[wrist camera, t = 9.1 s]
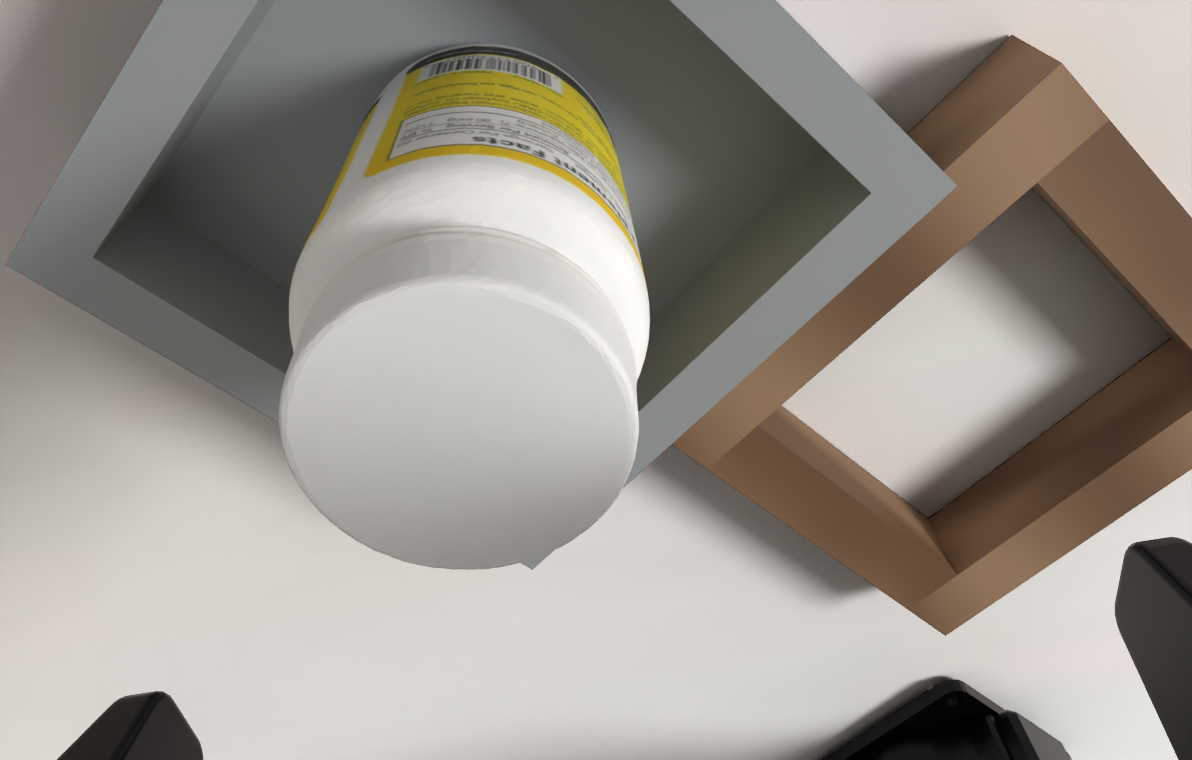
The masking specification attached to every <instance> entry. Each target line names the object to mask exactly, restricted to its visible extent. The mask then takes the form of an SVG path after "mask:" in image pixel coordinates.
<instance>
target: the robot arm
mask: <svg viewBox="0 0 1192 760" xmlns="http://www.w3.org/2000/svg"><path fill="white" fill-rule="evenodd" d="M1115 616H1116V622H1117V625H1118V628H1119V631H1120V633H1121V636H1122V638H1123V640H1124V642H1125V644H1126V647H1127V649H1128V651H1129V653H1130V655H1131V657H1132V660H1133V662H1134V664H1135V666H1136V668H1137V670H1138V673H1139V675H1140V677H1141V679H1142V681H1143V683H1144V686H1145V688H1146V690H1147V692H1148V694H1149V697H1150V699H1151V701H1152V703H1153V705H1154V707H1155V710H1156V712H1157V714H1158V716H1159V718H1160V720H1161V723H1162V725H1163V727H1164V729H1165V731H1166V733H1167V736H1168V738H1169V740H1170V742H1171V744H1172V746H1173V749H1174V751H1175V753H1176V755H1177V757H1178V759H1179V760H1192V543H1190V542H1188V541H1186V540H1183V539H1180V538H1175V537H1168V538H1161V539H1155V540H1148V541H1141V542H1136V543H1133V544H1131V545H1130V546H1129V548H1128V549H1127V550H1126V553H1125V556H1124V560H1123V565H1122V571H1121V576H1120V581H1119V586H1118V591H1117V596H1116V601H1115ZM57 760H203V753H202V748H201V745H200V742H199V740H198V738H197V736H196V735H195V733H194V732H193V730H192V729H191V727H190V725H189V724H188V722H187V721H186V719H185V718H184V716H183V715H182V713H181V711H180V710H179V708H178V707H177V705H176V704H175V702H174V700H173V699H172V698H171V697H170V695H168V694H166V693H164V692H162V691H155V692H148V693H142V694H135V695H129V696H125V697H122V698H120V699H118V700H117V701H116V702H114V703H113V704H112V705H111V706H110V707H109V708H108V709H107V710H106V711H105V712H104V713H103V714H102V715H101V716H100V717H99V718H98V719H97V720H96V721H95V722H94V723H93V724H92V725H91V726H90V727H89V728H88V729H87V730H86V731H85V732H84V733H83V734H82V735H81V736H80V737H79V738H78V739H77V740H76V741H75V742H74V743H73V744H72V745H71V746H70V747H69V748H68V749H67V750H66V751H65V752H64V753H63V754H62V755H61V756H60V757H59V758H58V759H57ZM823 760H1072V759H1071V757H1070V755H1069V754H1068V753H1067V752H1066V750H1065V749H1064V747H1063V745H1062V743H1061V742H1060V741H1058V740H1057V739H1055V738H1054V737H1052V736H1051V735H1049V734H1048V733H1046V732H1045V731H1043V730H1042V729H1041V728H1039V727H1038V726H1036V725H1035V724H1033V723H1032V722H1030V721H1029V720H1027V719H1026V718H1024V717H1023V716H1021V715H1020V714H1018V713H1016V712H1013V711H1009V710H1004V709H1003V708H1001V707H1000V706H998V705H997V704H995V703H994V702H992V701H991V700H989V699H988V698H986V697H985V696H983V695H982V694H980V693H979V692H977V691H976V690H974V689H973V688H971V687H970V686H968V685H967V684H966V683H964V682H962V681H960V680H947V681H944V682H942V683H940V684H938V685H936V686H935V687H933V688H932V689H930V690H929V691H927V692H926V693H924V694H923V695H921V696H920V697H918V698H917V699H915V700H914V701H912V702H910V703H909V704H907V705H906V706H904V707H903V708H901V709H900V710H898V711H897V712H895V713H894V714H892V715H891V716H889V717H888V718H886V719H885V720H883V721H881V722H880V723H878V724H877V725H875V726H874V727H872V728H871V729H869V730H868V731H866V732H865V733H863V734H862V735H860V736H859V737H857V738H855V739H854V740H852V741H851V742H849V743H848V744H846V745H845V746H843V747H842V748H840V749H839V750H837V751H836V752H834V753H833V754H831V755H830V756H828V757H826V758H825V759H823Z"/></svg>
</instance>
